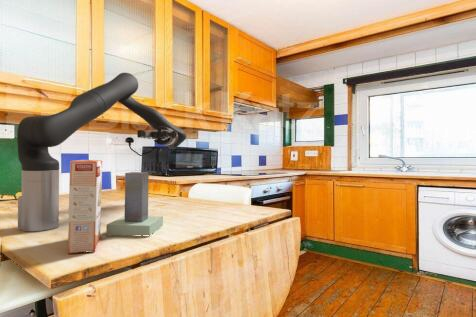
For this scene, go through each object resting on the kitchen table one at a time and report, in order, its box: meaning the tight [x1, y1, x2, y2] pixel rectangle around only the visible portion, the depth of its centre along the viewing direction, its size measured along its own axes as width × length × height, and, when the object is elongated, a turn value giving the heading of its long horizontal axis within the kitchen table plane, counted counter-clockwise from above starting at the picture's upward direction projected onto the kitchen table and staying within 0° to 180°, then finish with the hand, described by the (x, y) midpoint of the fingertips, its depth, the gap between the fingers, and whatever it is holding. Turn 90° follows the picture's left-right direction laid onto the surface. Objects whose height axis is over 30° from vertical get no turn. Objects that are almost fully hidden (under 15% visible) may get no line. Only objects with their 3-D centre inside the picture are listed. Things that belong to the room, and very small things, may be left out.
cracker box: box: [67, 159, 103, 255], centre depth 71 cm, size 14×6×21 cm, turn 21°
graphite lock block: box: [124, 171, 150, 222], centre depth 85 cm, size 5×5×14 cm
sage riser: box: [105, 215, 164, 237], centre depth 85 cm, size 12×12×3 cm
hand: (151, 133), depth 103 cm, fingers open, 8 cm apart
